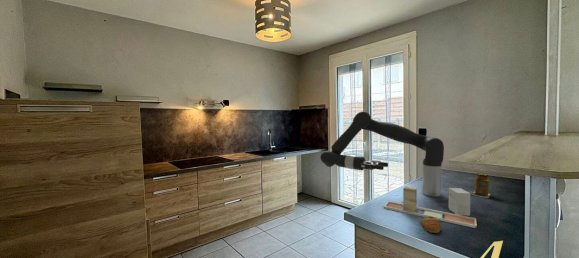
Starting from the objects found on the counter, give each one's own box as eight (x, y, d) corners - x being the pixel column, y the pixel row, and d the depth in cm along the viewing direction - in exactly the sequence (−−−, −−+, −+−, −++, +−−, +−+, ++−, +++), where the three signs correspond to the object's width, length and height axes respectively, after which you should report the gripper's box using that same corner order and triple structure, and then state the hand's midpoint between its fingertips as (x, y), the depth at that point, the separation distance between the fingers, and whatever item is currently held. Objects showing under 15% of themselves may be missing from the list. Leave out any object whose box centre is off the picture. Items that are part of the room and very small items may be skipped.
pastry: (444, 236, 87) (444, 226, 87) (424, 233, 90) (424, 223, 90) (438, 225, 96) (438, 216, 96) (420, 222, 98) (420, 214, 98)
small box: (470, 216, 104) (470, 193, 103) (456, 215, 105) (457, 192, 104) (460, 209, 112) (461, 188, 111) (448, 208, 113) (448, 187, 112)
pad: (425, 210, 110) (425, 210, 110) (442, 214, 106) (442, 214, 106) (423, 215, 105) (423, 215, 105) (441, 219, 100) (441, 219, 100)
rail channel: (388, 202, 121) (388, 200, 121) (475, 220, 99) (475, 218, 99) (383, 208, 114) (383, 206, 114) (476, 228, 92) (476, 226, 92)
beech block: (405, 207, 114) (405, 185, 114) (416, 209, 111) (416, 187, 111) (403, 210, 110) (403, 188, 110) (414, 213, 107) (415, 190, 107)
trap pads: (388, 203, 120) (388, 203, 120) (474, 220, 99) (474, 220, 99) (385, 207, 114) (385, 207, 114) (474, 227, 93) (474, 226, 93)
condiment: (490, 194, 132) (490, 174, 132) (488, 198, 126) (489, 176, 126) (474, 191, 137) (474, 172, 137) (471, 195, 131) (472, 174, 131)
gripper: (350, 157, 121) (382, 161, 111) (359, 154, 132) (389, 157, 122) (349, 171, 121) (381, 176, 111) (359, 167, 132) (389, 171, 123)
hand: (385, 166), depth 117 cm, fingers open, 8 cm apart
